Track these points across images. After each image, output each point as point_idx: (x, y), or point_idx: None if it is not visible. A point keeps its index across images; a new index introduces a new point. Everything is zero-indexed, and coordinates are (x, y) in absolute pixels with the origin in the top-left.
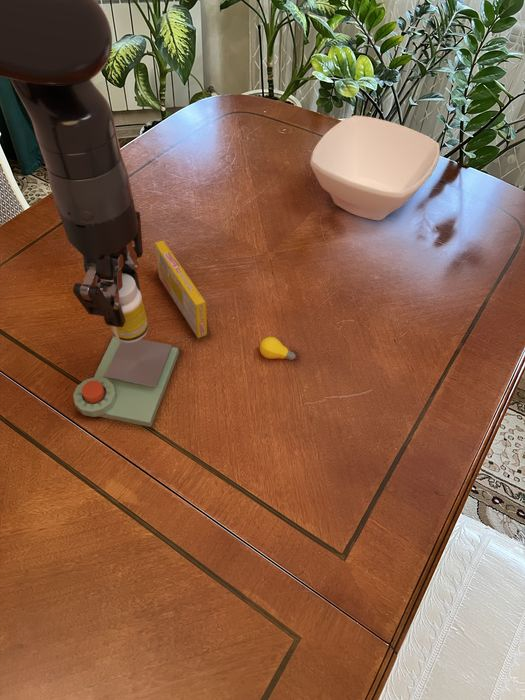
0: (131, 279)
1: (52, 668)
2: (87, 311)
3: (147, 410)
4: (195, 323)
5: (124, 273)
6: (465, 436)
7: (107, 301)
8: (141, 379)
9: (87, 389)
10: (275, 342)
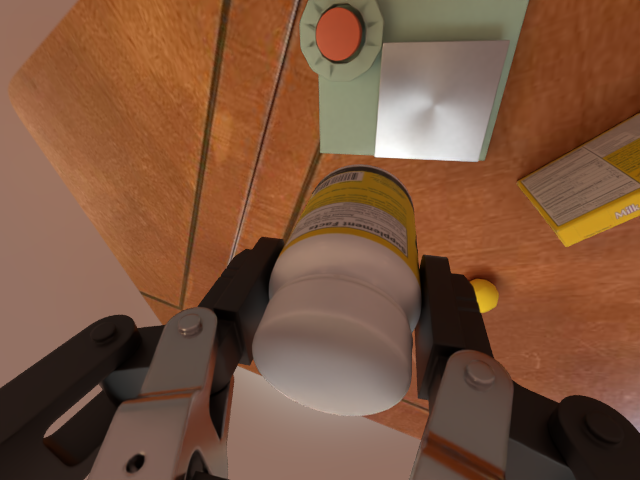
0: (371, 408)
1: (45, 129)
2: (63, 345)
3: (340, 143)
4: (536, 195)
5: (426, 368)
6: (377, 415)
7: (88, 469)
8: (385, 126)
9: (334, 23)
10: (481, 310)
